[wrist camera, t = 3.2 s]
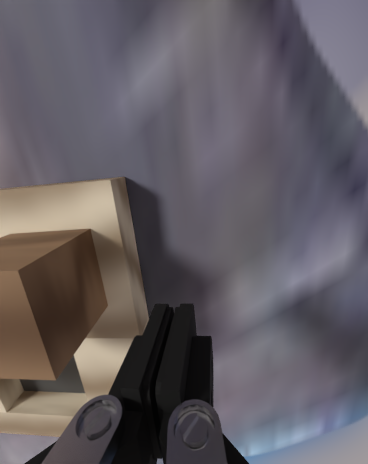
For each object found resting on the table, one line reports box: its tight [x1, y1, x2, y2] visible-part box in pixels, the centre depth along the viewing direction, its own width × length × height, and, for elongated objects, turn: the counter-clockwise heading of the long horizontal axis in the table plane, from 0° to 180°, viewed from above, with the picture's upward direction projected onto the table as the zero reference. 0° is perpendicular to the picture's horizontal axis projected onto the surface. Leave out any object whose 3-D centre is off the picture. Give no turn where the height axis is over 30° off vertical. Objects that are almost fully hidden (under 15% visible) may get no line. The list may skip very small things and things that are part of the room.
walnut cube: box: [0, 229, 108, 380], centre depth 13 cm, size 6×6×6 cm
